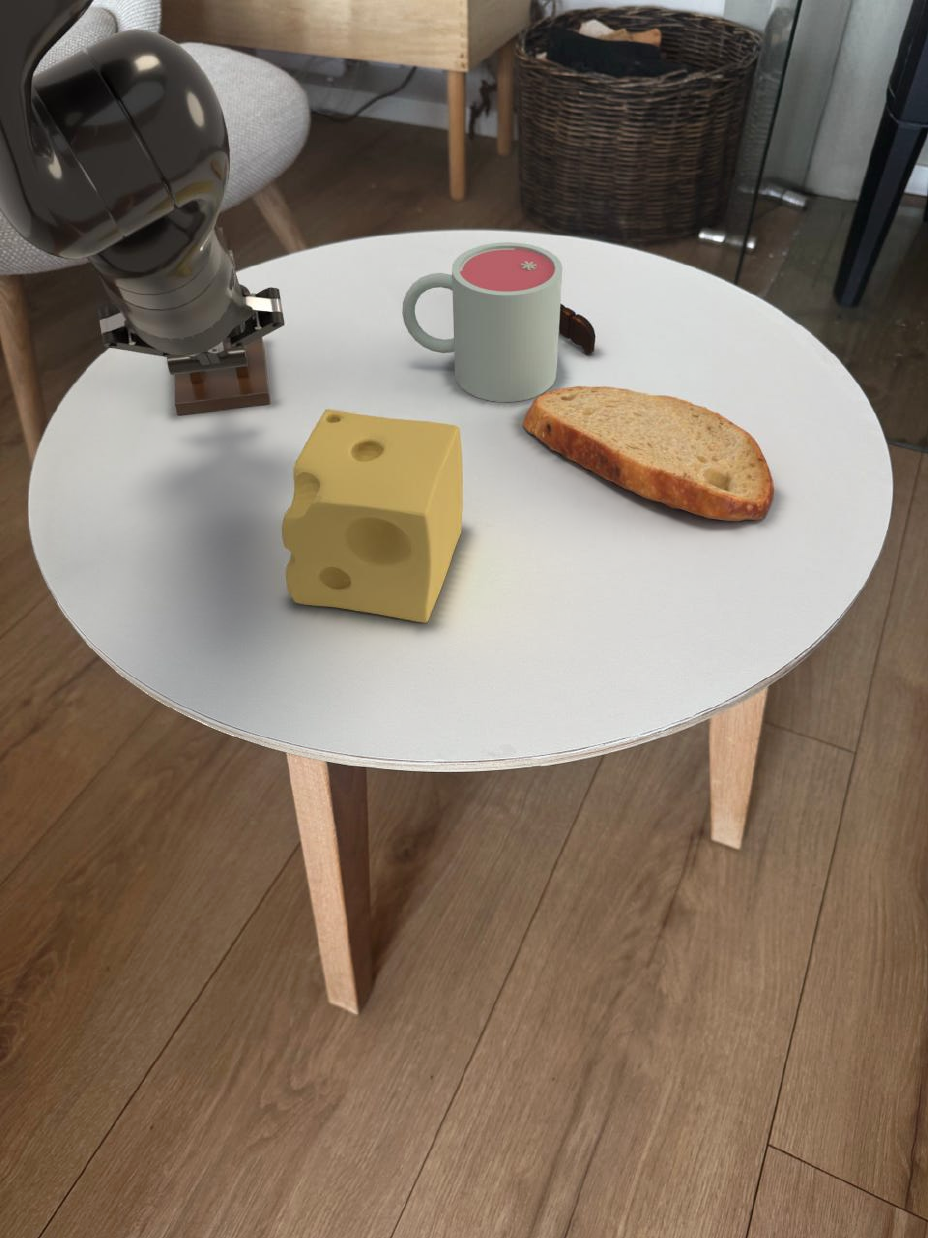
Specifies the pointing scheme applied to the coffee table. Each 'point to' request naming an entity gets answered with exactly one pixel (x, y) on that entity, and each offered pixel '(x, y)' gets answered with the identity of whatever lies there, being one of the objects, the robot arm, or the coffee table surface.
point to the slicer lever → (187, 365)
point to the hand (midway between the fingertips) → (209, 351)
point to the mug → (498, 319)
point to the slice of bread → (657, 449)
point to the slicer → (225, 383)
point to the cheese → (374, 514)
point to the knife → (577, 329)
